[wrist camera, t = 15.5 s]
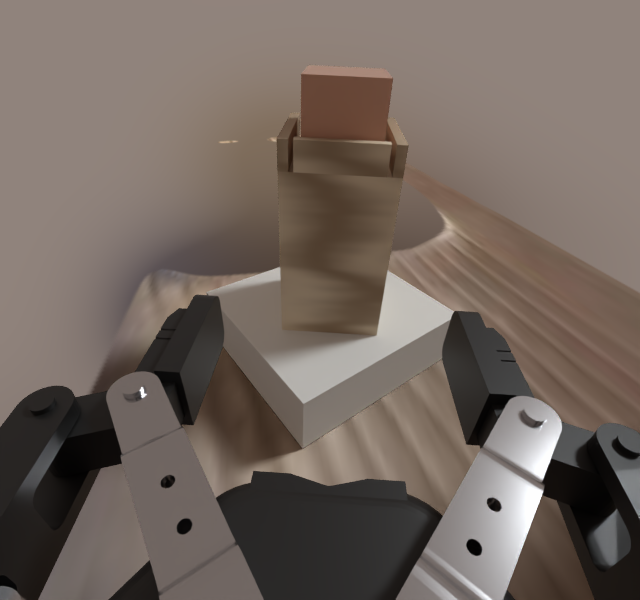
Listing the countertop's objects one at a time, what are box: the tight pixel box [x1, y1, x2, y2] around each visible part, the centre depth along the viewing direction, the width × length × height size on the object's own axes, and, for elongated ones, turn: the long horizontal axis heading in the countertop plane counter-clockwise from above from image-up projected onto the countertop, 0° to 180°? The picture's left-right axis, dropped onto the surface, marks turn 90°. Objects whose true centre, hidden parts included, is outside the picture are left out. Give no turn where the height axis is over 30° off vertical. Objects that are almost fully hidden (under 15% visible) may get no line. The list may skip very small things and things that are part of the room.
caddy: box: [277, 113, 409, 336], centre depth 23 cm, size 6×6×12 cm
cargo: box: [301, 65, 393, 141], centre depth 19 cm, size 4×4×4 cm
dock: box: [206, 267, 454, 448], centre depth 28 cm, size 13×12×4 cm
